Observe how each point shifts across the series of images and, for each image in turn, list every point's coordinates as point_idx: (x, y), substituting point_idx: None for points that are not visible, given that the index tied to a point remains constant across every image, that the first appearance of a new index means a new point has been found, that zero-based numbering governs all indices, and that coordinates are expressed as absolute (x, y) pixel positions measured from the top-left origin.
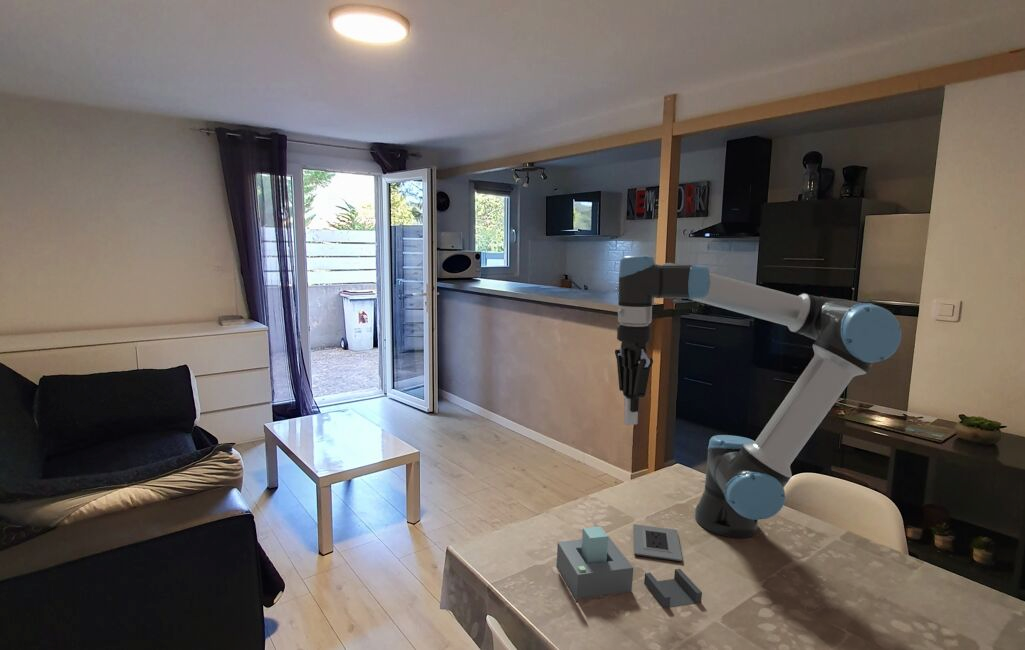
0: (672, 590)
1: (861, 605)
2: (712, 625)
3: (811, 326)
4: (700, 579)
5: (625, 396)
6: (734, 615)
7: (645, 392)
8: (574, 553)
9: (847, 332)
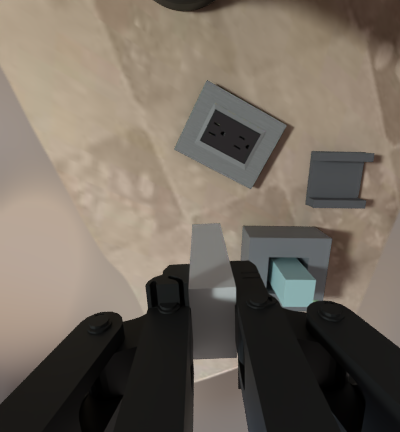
0: (332, 176)
1: None
2: (394, 160)
3: None
4: (316, 117)
5: (195, 356)
6: (391, 119)
7: (374, 329)
8: (277, 299)
9: None
